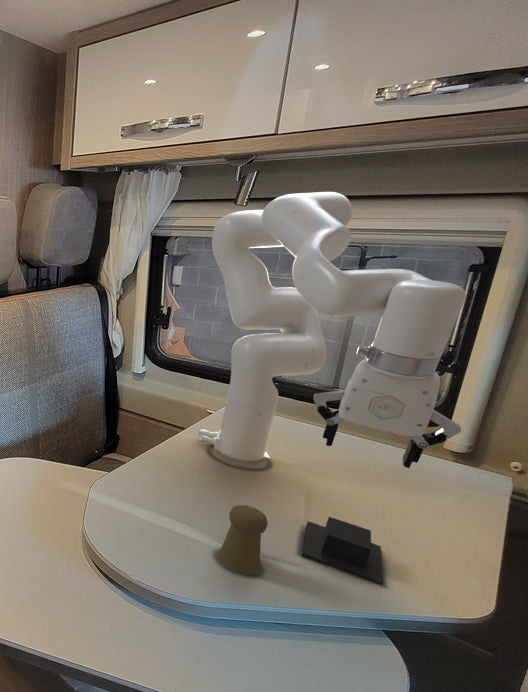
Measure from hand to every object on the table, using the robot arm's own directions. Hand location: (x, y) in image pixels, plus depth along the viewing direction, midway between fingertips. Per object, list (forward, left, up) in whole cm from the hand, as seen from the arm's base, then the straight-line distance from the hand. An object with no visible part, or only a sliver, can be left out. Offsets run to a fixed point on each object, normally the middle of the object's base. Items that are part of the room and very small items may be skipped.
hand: (365, 452), depth 77 cm
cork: (-12, -20, -18) cm, 29 cm away
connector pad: (+1, -6, -17) cm, 18 cm away
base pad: (+1, -6, -18) cm, 18 cm away
